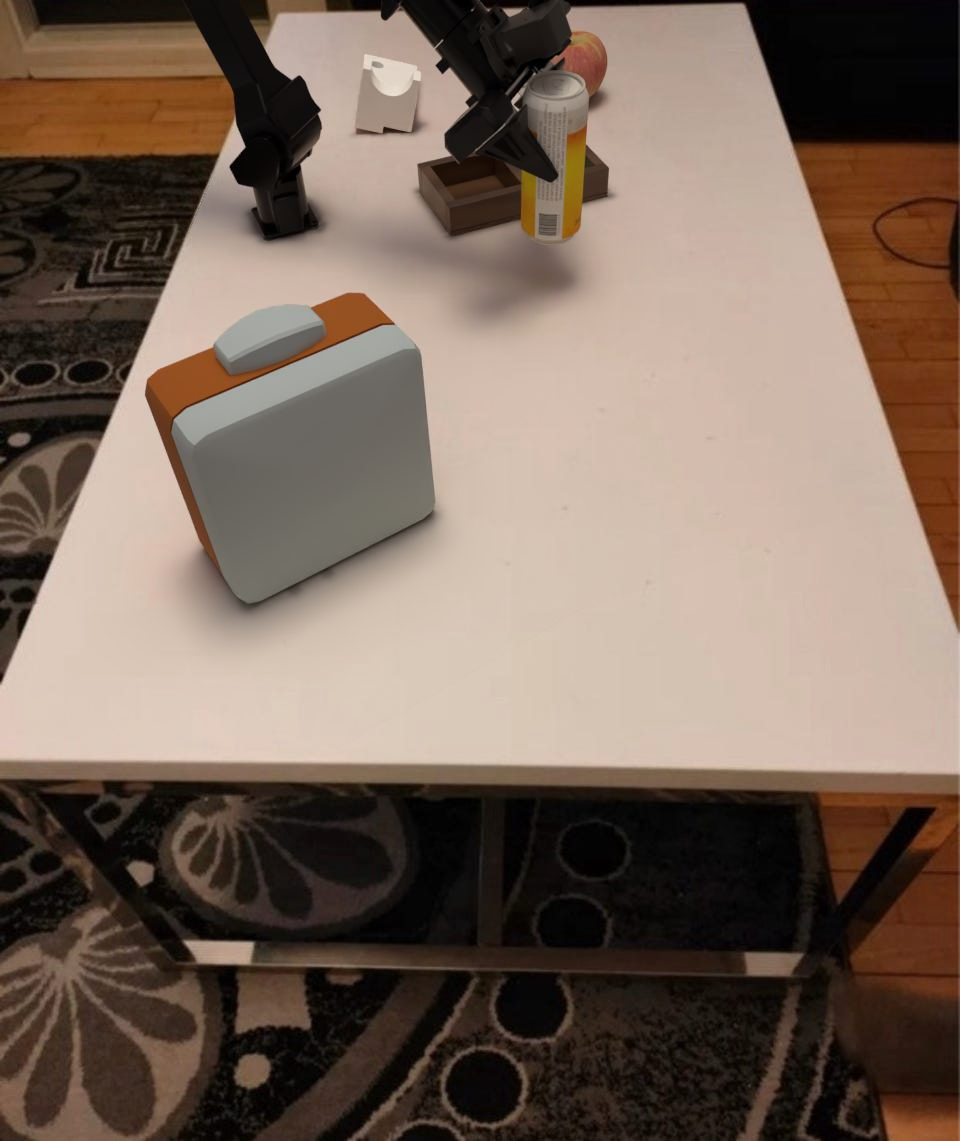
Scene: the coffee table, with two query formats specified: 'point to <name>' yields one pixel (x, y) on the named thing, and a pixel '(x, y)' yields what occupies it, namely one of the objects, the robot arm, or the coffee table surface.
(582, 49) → the apple
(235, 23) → the robot arm
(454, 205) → the tray
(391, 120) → the bracket
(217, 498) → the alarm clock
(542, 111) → the beer can
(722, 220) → the coffee table surface
